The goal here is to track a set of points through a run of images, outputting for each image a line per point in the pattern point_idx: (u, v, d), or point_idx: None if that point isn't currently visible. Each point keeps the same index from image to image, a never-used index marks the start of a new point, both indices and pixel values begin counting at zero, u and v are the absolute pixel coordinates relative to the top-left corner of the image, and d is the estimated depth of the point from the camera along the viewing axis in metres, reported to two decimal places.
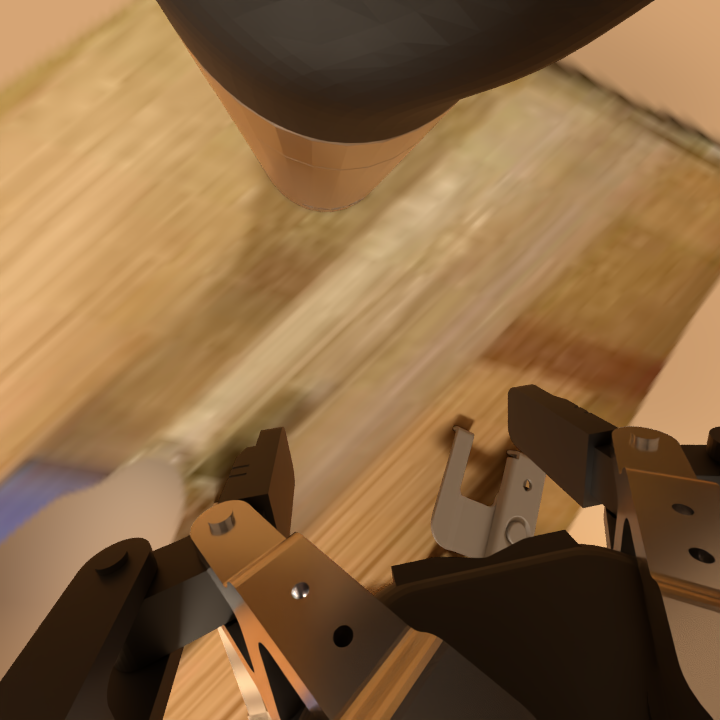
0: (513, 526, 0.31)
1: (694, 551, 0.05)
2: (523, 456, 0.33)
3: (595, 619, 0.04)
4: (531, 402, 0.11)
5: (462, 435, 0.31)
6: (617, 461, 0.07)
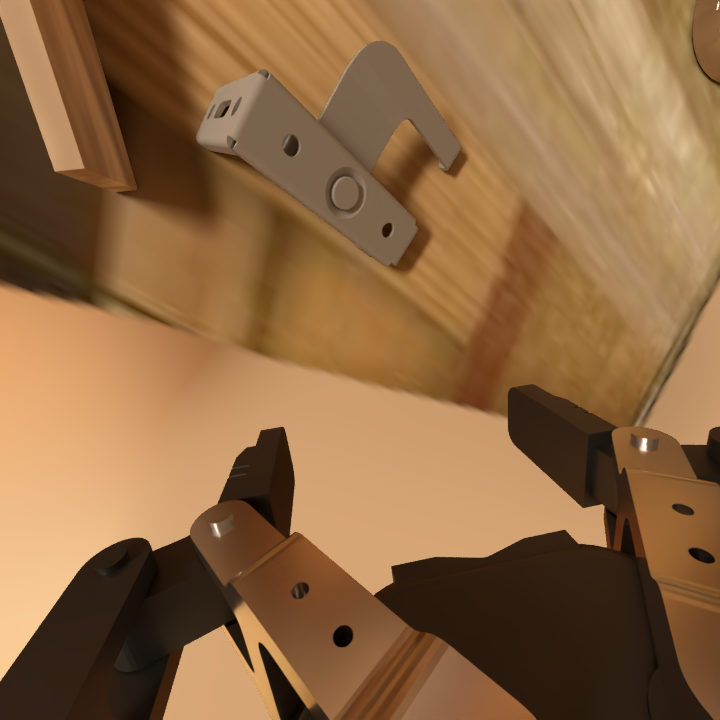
0: (356, 189, 0.22)
1: (694, 551, 0.05)
2: (414, 233, 0.27)
3: (595, 619, 0.04)
4: (531, 402, 0.11)
5: (454, 150, 0.26)
6: (617, 461, 0.07)
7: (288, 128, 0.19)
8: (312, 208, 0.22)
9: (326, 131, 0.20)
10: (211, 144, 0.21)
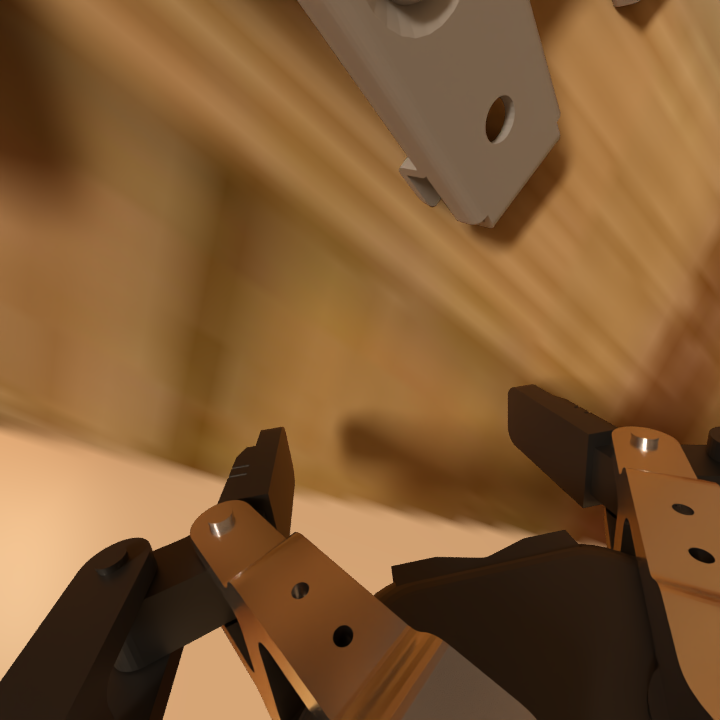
0: None
1: (694, 551, 0.05)
2: (549, 148, 0.11)
3: (595, 619, 0.04)
4: (531, 402, 0.11)
5: None
6: (617, 461, 0.07)
7: None
8: None
9: None
10: None
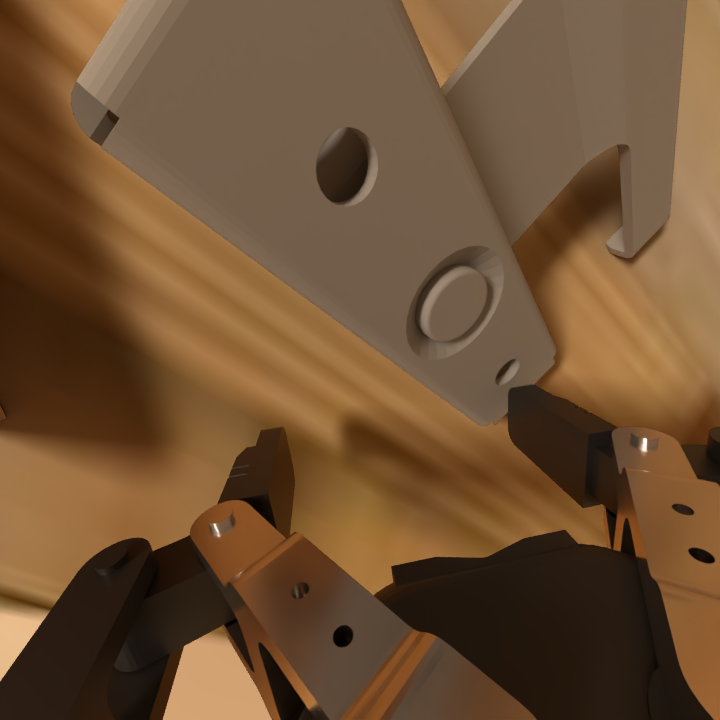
0: (482, 298, 0.09)
1: (694, 551, 0.05)
2: (546, 371, 0.13)
3: (595, 619, 0.04)
4: (531, 402, 0.11)
5: (659, 222, 0.12)
6: (617, 461, 0.07)
7: (349, 105, 0.05)
8: (366, 340, 0.08)
9: (461, 140, 0.06)
10: None
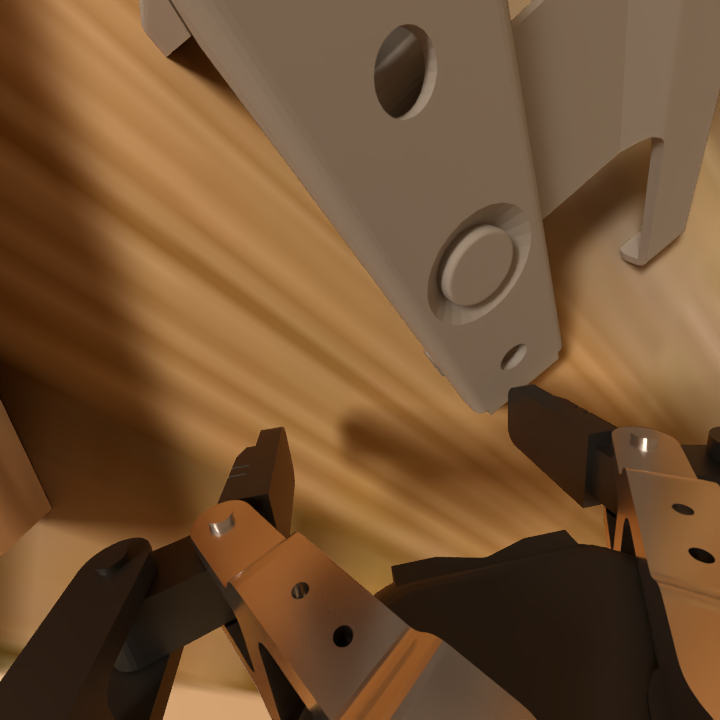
0: (506, 265, 0.09)
1: (694, 551, 0.05)
2: (548, 366, 0.13)
3: (595, 619, 0.04)
4: (531, 402, 0.11)
5: (674, 233, 0.13)
6: (617, 461, 0.07)
7: None
8: (387, 285, 0.08)
9: (518, 78, 0.06)
10: (142, 7, 0.07)
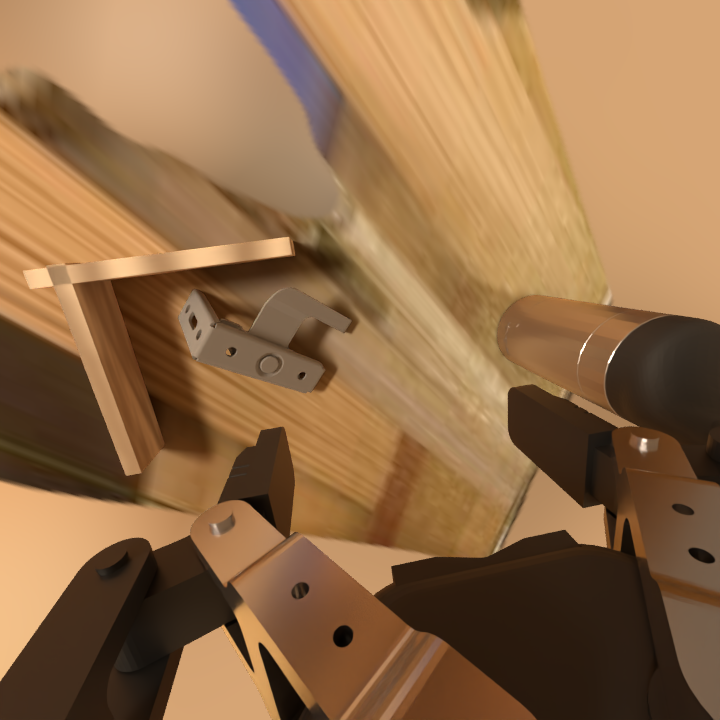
0: (276, 361, 0.36)
1: (694, 551, 0.05)
2: (322, 373, 0.41)
3: (595, 619, 0.04)
4: (531, 402, 0.11)
5: (346, 323, 0.40)
6: (617, 461, 0.07)
7: (228, 345, 0.33)
8: None
9: (253, 339, 0.34)
10: None
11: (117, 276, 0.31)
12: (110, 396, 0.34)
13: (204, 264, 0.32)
